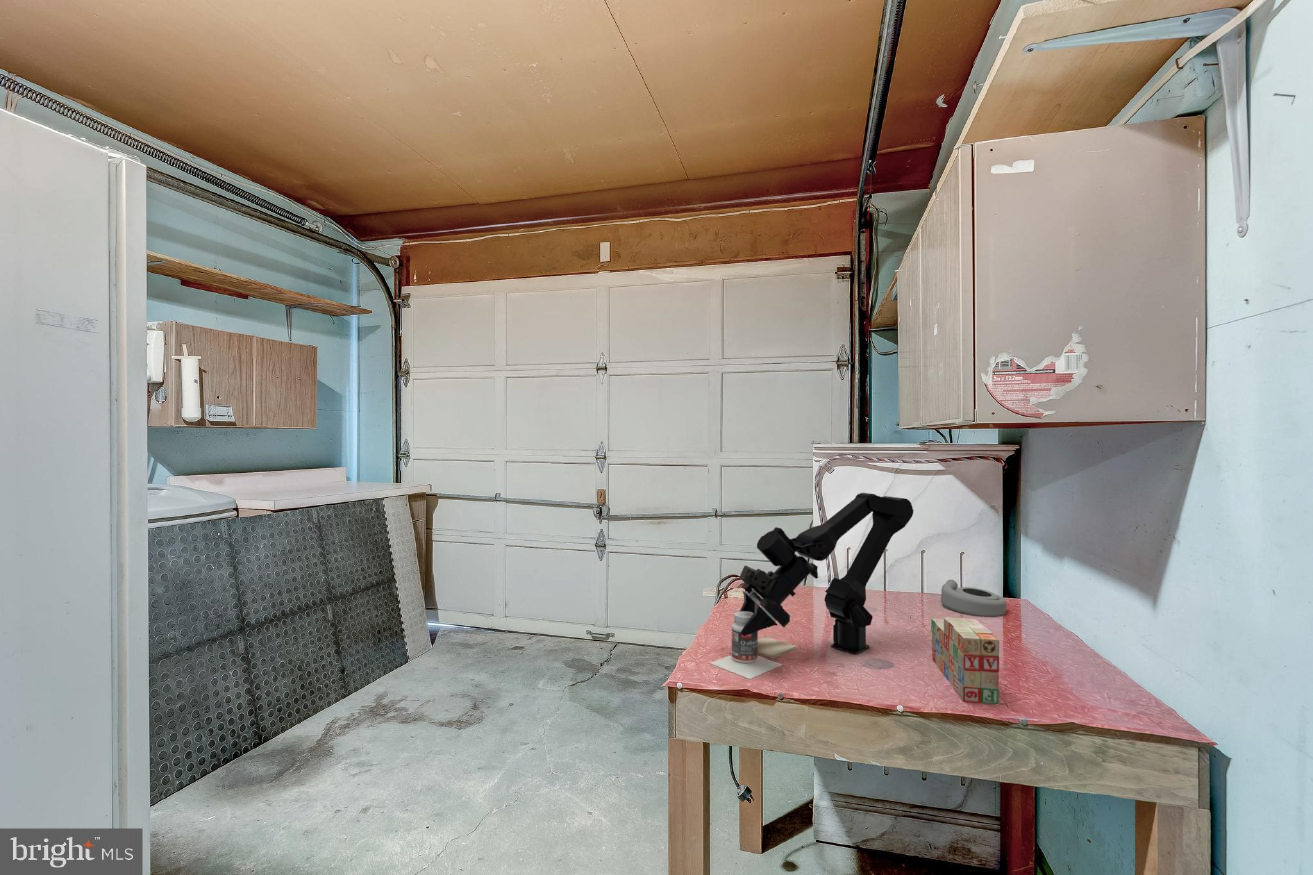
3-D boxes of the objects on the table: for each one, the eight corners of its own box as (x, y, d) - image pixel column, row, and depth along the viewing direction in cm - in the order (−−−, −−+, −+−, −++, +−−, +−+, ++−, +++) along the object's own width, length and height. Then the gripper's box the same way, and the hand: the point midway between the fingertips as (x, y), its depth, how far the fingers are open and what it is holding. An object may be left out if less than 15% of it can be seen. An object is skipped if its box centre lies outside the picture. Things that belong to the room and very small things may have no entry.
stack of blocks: (931, 659, 128) (930, 604, 128) (961, 661, 126) (961, 605, 126) (963, 702, 107) (963, 636, 107) (1000, 705, 105) (999, 638, 105)
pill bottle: (742, 665, 123) (742, 619, 123) (726, 657, 128) (726, 612, 128) (763, 660, 126) (763, 615, 126) (746, 652, 131) (746, 608, 131)
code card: (782, 665, 124) (782, 664, 124) (749, 679, 117) (749, 678, 117) (742, 651, 132) (742, 650, 132) (710, 663, 125) (710, 663, 125)
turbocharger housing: (999, 626, 154) (1009, 612, 166) (1001, 602, 154) (1011, 590, 166) (932, 609, 165) (945, 598, 177) (934, 587, 165) (947, 577, 177)
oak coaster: (796, 648, 134) (796, 646, 134) (773, 658, 128) (773, 655, 128) (765, 638, 140) (765, 636, 140) (741, 647, 134) (741, 645, 134)
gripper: (749, 546, 137) (704, 593, 136) (775, 562, 119) (723, 618, 117) (781, 578, 138) (737, 625, 137) (811, 599, 120) (760, 654, 118)
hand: (738, 629), depth 127 cm, fingers closed on pill bottle, 6 cm apart
